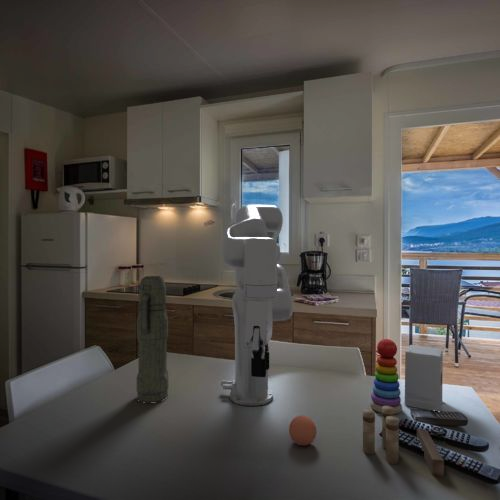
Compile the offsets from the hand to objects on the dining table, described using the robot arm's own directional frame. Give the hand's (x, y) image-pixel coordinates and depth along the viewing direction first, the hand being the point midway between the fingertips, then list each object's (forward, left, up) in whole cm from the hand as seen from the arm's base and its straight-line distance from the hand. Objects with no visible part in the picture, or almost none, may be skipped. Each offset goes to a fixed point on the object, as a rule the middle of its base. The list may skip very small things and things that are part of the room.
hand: (260, 371), depth 82 cm
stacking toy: (+30, +22, -16) cm, 41 cm away
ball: (+10, 0, -12) cm, 16 cm away
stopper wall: (+36, 0, -15) cm, 39 cm away
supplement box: (+42, +28, -16) cm, 52 cm away
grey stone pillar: (-34, +16, -16) cm, 41 cm away
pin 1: (+28, +3, -15) cm, 32 cm away
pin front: (+24, 0, -15) cm, 28 cm away
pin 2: (+28, -2, -15) cm, 32 cm away
